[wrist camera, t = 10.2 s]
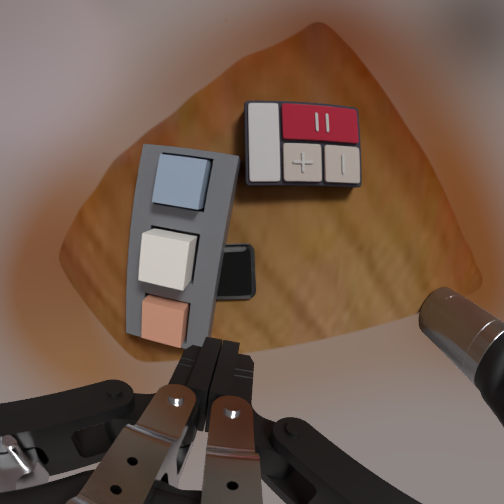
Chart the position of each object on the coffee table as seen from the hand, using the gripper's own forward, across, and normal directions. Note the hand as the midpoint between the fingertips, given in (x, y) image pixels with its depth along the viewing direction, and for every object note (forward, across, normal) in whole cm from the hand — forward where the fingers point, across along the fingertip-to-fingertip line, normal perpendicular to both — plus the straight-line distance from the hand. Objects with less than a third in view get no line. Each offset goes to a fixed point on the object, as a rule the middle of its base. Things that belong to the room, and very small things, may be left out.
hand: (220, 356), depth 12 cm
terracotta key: (+23, +9, +11) cm, 28 cm away
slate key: (+23, +9, -7) cm, 26 cm away
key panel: (+26, +9, +2) cm, 28 cm away
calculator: (+27, -4, -14) cm, 31 cm away
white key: (+22, +9, +2) cm, 24 cm away
